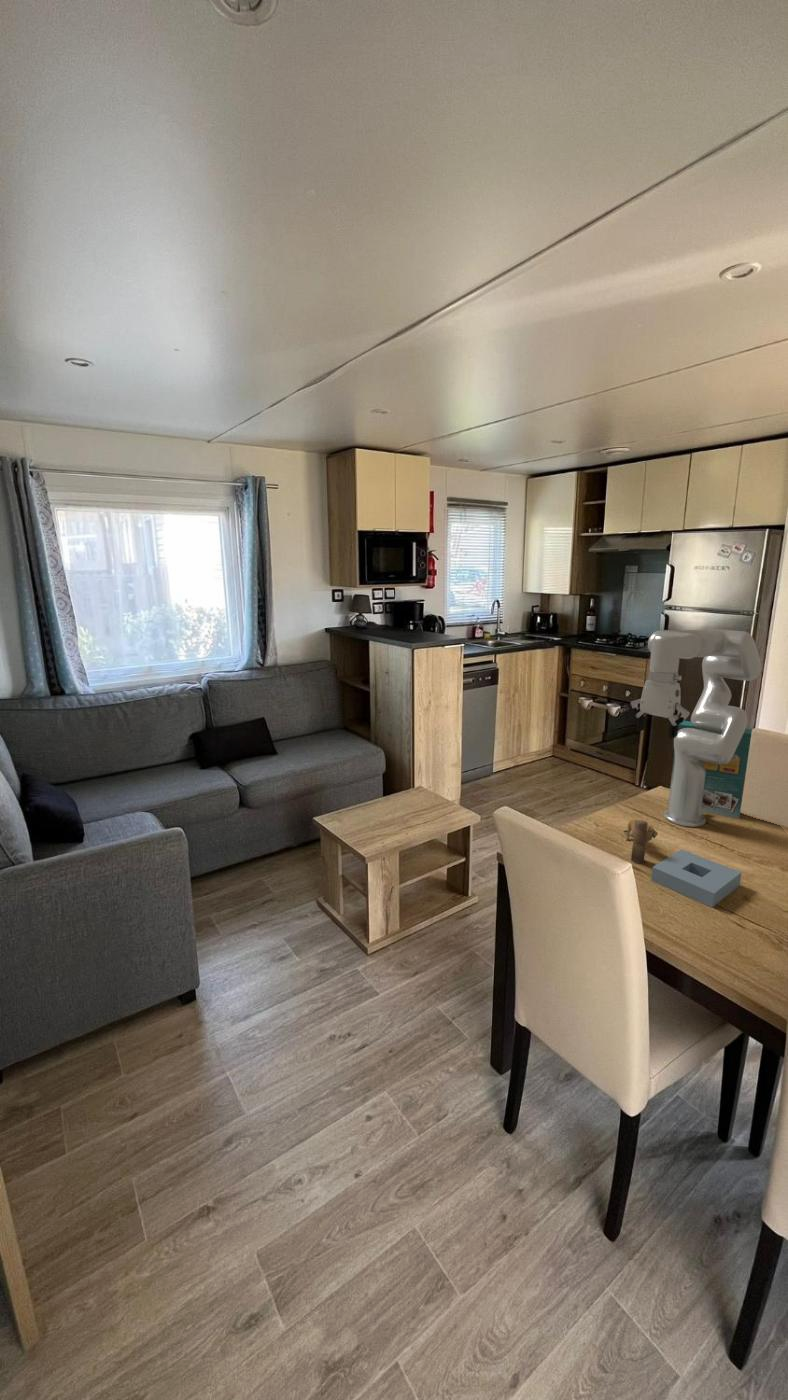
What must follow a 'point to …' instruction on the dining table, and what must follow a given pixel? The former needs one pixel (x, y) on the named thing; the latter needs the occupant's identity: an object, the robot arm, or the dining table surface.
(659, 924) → the dining table surface
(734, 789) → the cake mix box
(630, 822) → the lion figurine
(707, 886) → the socket block
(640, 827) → the peg
